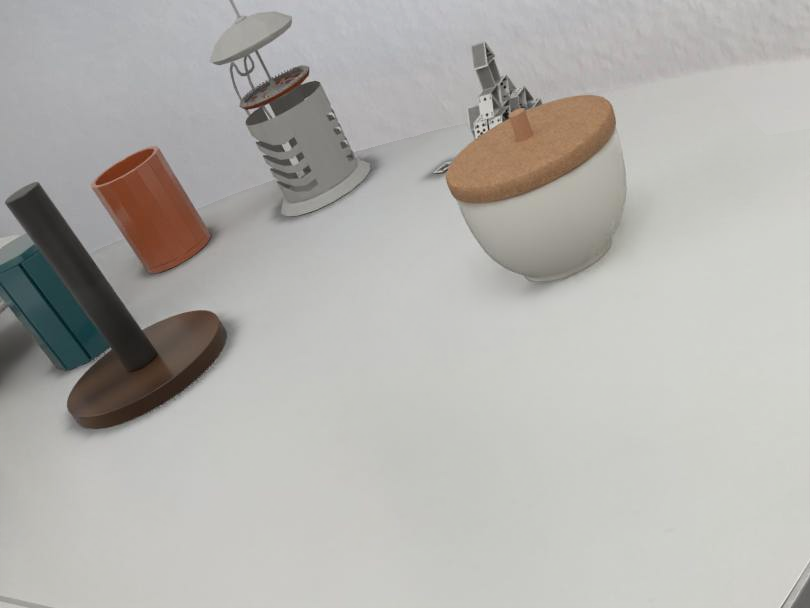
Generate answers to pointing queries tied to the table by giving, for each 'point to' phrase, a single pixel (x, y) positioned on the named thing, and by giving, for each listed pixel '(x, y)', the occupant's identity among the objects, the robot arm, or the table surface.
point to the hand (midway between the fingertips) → (12, 295)
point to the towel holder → (117, 328)
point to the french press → (291, 120)
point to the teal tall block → (46, 306)
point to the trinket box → (544, 187)
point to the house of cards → (493, 95)
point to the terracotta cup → (151, 210)
